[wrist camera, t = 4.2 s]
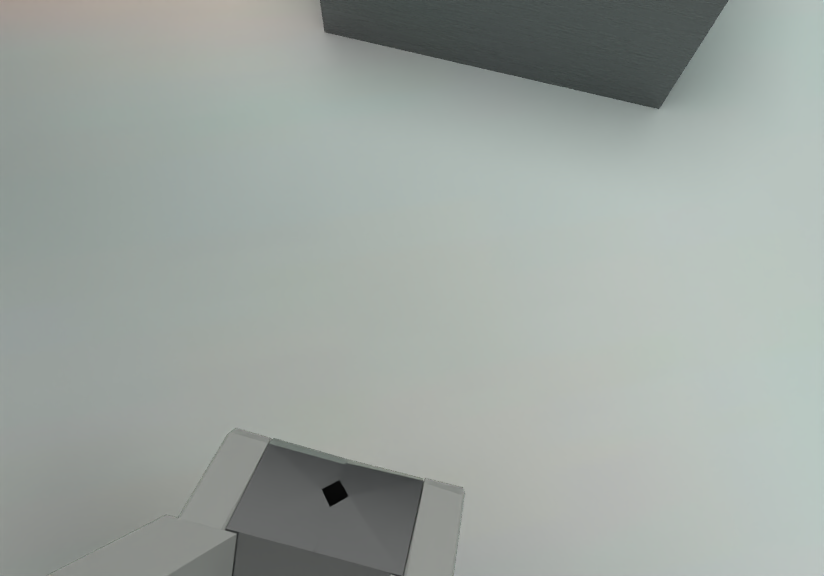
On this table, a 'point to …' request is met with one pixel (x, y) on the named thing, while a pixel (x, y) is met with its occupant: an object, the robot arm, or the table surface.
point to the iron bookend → (543, 38)
